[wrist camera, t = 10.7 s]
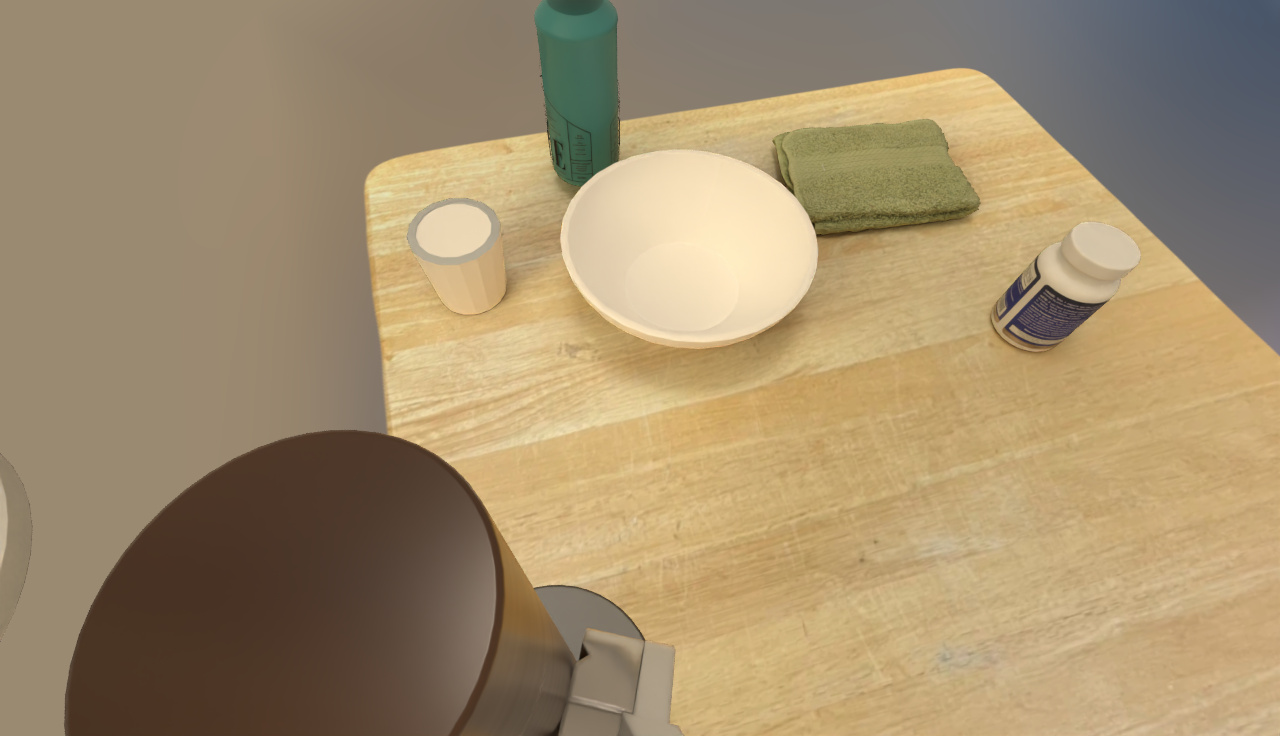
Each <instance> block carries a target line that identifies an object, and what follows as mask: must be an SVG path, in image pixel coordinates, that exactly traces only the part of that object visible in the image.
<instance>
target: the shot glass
mask: <svg viewBox="0 0 1280 736" xmlns="http://www.w3.org/2000/svg"><path fill="white" fill-rule="evenodd" d="M407 240H408V243H409V245H410V248H411V250H412V252H413V254H414V256H415V257H416V259H417V261H418V262H419V264H420V266H421V267H422V269H423V271H424V273H425V274H426V276H427V278H428V279H429V281H430V283H431V284H432V286H433V288H434V290H435V291H436V293H437V295H438V296H439V298H440V300H441V301H442V303H443V304H444V305H445V306H446V307H447V308H448V309H450V310H451V311H453V312H456V313H459V314H463V315H474V314H480V313H482V312H485V311H488V310H490V309H492V308H493V307H494V306H496V305H497V304H498V303H499V302H500V301H501V299H502V298H503V296H504V294H505V293H506V274H505V265H504V255H503V246H502V236H501V227H500V222H499V220H498V218H497V216H496V214H495V212H494V211H493V210H492V209H491V208H489V207H488V206H487V205H485V204H484V203H482V202H479V201H475V200H472V199H468V198H449V199H446V200H443V201H439V202H436V203H432V204H431V205H429V206H428V207H426V208H425V209H423V210H422V211H420V212H418V214H417V215H416V216H415V218H414V219H413V220H412V222H411V223H410V224H409V228H408V234H407Z"/></svg>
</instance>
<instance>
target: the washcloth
mask: <svg viewBox="0 0 1280 736" xmlns="http://www.w3.org/2000/svg"><path fill="white" fill-rule="evenodd" d="M773 143H774V145H775V146H776V149H777V153H778V159H779V165H780V169H781V174H782V176H783V178H784V181H785V182H786V184H787V187H788V190H789V191H790V192H791V193H792V194H793V195H794V196H795V197H796V198H797V200H798V201H799V202H800V204H801V205H802V207H803V208H804V210H805V211H806V213H807V214H808V216H809V218H810V221H811V223H812V225H813V228H814V230H815V233H816V234H821V235H824V234H829V233H837V232H840V233H841V232H844V231H851V232H856V231H857V232H858V231H861V230H865V229H871V228H887V227H892V226H894V227H895V226H902V225H911V224H921V223H925V224H926V223H927V222H928V221H930V222H935V221H938V220H940V221H945V220H949V219H961V218H963V217H964V216H967V215H969V214H971V213H973V212H975V211H977V210H979V209H978V207H979V205H980V199H979V197H978V196H977V194H976V192H974V189H973V188H972V187H971V185H970V183H969V182H968V181H967V178H966V177H965V176H964V175H963V172H962V171H961V169H960V167H958V166H955V164H954V163H953V161H952V159H951V158H950V156H949V154H948V149H949V147H948V143H947V142H946V139H945V136H944V133H942V130H941V128H940V127H939V126H938V125H937V124H936V123H935V122H934V121H933V120H930V119H922V120H914V121H908V122H905V123H899V124H883V123H876V124H870V125H859V126H850V127H837V128H835V127H829V128H803V129H798V130H795V131H792V132H787V133H784V134H780V135H778V136H776V137H775V138H774V139H773Z"/></svg>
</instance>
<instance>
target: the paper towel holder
mask: <svg viewBox="0 0 1280 736" xmlns="http://www.w3.org/2000/svg"><path fill="white" fill-rule="evenodd" d="M587 628H591V629H595V630H599V631H604V632H608V633H613V634H617V635H621V636H626V637H630V638H635V639H639V640H643V641H644V642H645V639H644V637H643V635H642V633H641V632H640V630H639V629H638V627H637V626H636V625H635V623H634V622H633V621H632V620H631V619H630V617H629V616H628V615H627V614H626V613H625V612H624V611H623V610H622V609H620V608H619V607H618V606H616V605H615V604H614V603H613V602H611V601H610V600H608V599H606V598H604V597H603V596H601V595H599V594H597V593H594V592H592V591H589V590H587V589H583V588H579V587H575V586H566V585H548V586H542V587H536V588H533V586H532V585H531V583H530V581H529V580H528V578H527V576H526V575H525V573H524V571H523V570H522V568H521V566H520V565H519V563H518V561H517V560H516V558H515V556H514V555H513V553H512V551H511V550H510V548H509V546H508V545H507V543H506V541H505V540H504V538H503V536H502V535H501V533H500V531H499V530H498V528H497V526H496V525H495V523H494V521H493V520H492V518H491V516H490V514H489V513H488V511H487V509H486V508H485V506H484V504H483V503H482V501H481V500H480V498H479V497H478V496H477V494H476V493H475V491H474V490H473V488H472V487H471V486H470V484H469V483H468V482H467V481H466V480H465V479H464V478H463V477H462V476H461V475H460V474H459V473H458V472H457V471H456V470H455V469H454V468H453V467H452V466H451V465H449V464H448V463H447V462H445V461H444V460H443V459H441V458H440V457H439V456H437V455H436V454H434V453H432V452H430V451H429V450H427V449H425V448H423V447H421V446H420V445H417V444H414V443H412V442H409V441H407V440H404V439H401V438H398V437H394V436H390V435H386V434H381V433H376V432H367V431H357V430H330V431H322V432H314V433H306V434H302V435H298V436H294V437H290V438H285V439H282V440H279V441H276V442H273V443H270V444H267V445H264V446H261V447H258V448H256V449H254V450H252V451H250V452H247V453H245V454H243V455H241V456H239V457H237V458H234V459H232V460H231V461H229V462H227V463H226V464H224V465H222V466H220V467H219V468H217V469H215V470H213V471H212V472H210V473H208V474H207V475H206V476H204V477H203V478H202V479H200V480H199V481H197V482H196V483H194V484H193V485H191V486H190V487H189V488H187V489H186V490H185V491H183V492H182V493H181V494H180V495H179V496H178V497H177V498H175V499H174V500H173V501H172V502H171V503H169V504H168V505H167V506H166V507H165V508H164V509H163V510H162V511H161V512H160V513H159V514H158V515H157V516H156V517H155V518H154V519H153V520H152V521H151V522H150V523H149V524H148V525H147V526H146V527H145V528H144V529H143V530H142V531H141V532H140V534H139V535H138V536H137V537H136V538H135V540H134V541H133V542H132V543H131V544H130V546H129V547H128V548H127V549H126V550H125V552H124V553H123V555H122V556H121V558H120V559H119V560H118V562H117V563H116V565H115V566H114V568H113V569H112V571H111V572H110V574H109V575H108V577H107V578H106V580H105V581H104V583H103V585H102V587H101V589H100V591H99V593H98V595H97V596H96V598H95V600H94V602H93V604H92V605H91V608H90V610H89V613H88V615H87V617H86V620H85V622H84V624H83V627H82V629H81V632H80V634H79V637H78V640H77V644H76V647H75V651H74V654H73V658H72V661H71V665H70V670H69V676H68V682H67V689H66V694H65V723H64V726H65V735H66V736H559V730H560V724H561V718H562V715H563V712H564V709H565V705H566V700H567V696H568V692H569V687H570V680H571V677H572V674H573V670H574V667H575V664H576V663H577V662H578V661H579V657H580V651H581V646H582V641H583V638H584V635H585V632H586V629H587Z"/></svg>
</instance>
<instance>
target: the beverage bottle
mask: <svg viewBox="0 0 1280 736" xmlns="http://www.w3.org/2000/svg"><path fill="white" fill-rule="evenodd" d="M617 21H618V16H617V11H616V9H615V7H614V6H613V5H612V3H611V2H610V1H609V0H542V2H541V3H540V4H539V5H538V7H537V9H536V11H535V24H536V27H537V35H538V43H539V51H540V59H541V67H542V75H541V76H542V79H543V87H544V90H543V91H544V95H545V103H546V111H547V112H546V113H547V115H546V116H547V127H548V128H549V132H548V130H547V133H548V140H550V143H551V151H552V154H551V152H550V156H551V155H552V157H551V158H552V160H553V162H552V163H553V165H554V168H555V169H554V170H555V171H556V172H557V174H558V176H559V177H560V178H561V179H562V180H564V181H565V182H567V183H569V184H572V185H575V186H583V185H584V184H585V183H586V182H588V181H589V180H590V179H591V178H592V177H593V176H594V175H596V174H597V173H598V172H600V171H602V170H604V169H605V168H607V167H609V166H610V165H612V164H614V163H616V162H619V161H618V160H619V159H618V158H619V157H618V155H619V154H618V153H619V151H618V148H619V147H618V144H619V146H620V120H619V123H618V118H619V117H618V107H619V106H618V85H617V81H618V80H617ZM618 124H619V130H618ZM548 128H547V129H548ZM618 131H619V137H618ZM549 135H550V138H549ZM618 139H619V140H618ZM618 141H619V143H618ZM550 143H549V148H550Z"/></svg>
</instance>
